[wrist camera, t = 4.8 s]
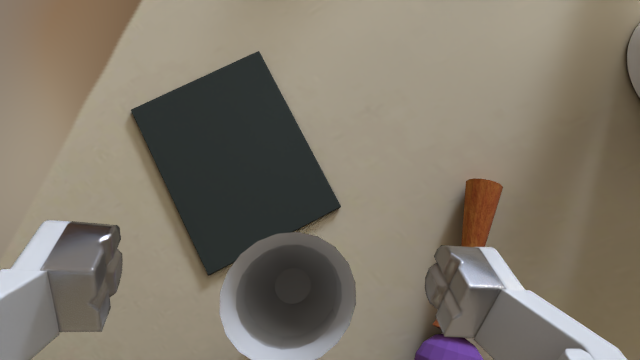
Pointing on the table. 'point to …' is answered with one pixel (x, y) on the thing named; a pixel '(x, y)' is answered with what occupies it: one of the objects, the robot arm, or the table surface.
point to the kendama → (479, 209)
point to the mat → (234, 160)
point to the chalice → (287, 298)
